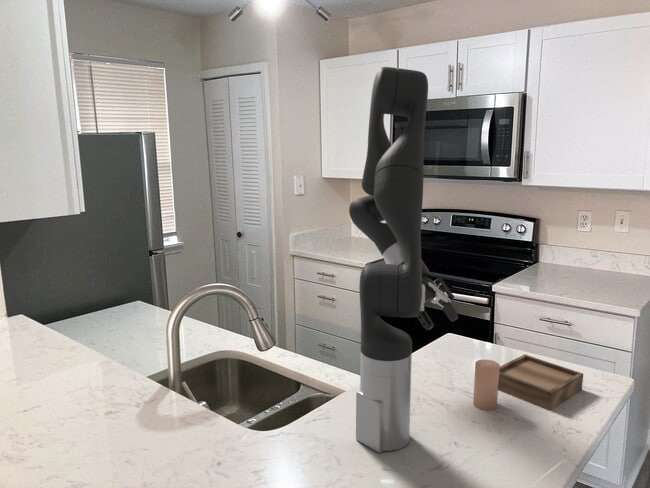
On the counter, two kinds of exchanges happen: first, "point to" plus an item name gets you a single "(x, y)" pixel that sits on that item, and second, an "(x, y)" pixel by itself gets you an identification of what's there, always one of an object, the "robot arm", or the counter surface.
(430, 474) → the counter surface
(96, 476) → the counter surface
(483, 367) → the tan cylinder
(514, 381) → the square brown tray
